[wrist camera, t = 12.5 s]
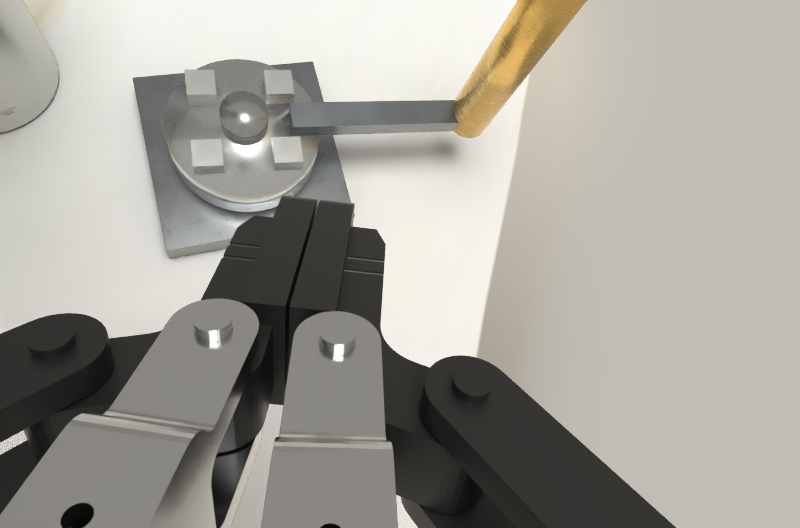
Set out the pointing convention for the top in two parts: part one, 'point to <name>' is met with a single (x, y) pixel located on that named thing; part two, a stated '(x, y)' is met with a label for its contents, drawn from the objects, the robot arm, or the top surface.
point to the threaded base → (197, 212)
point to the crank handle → (334, 113)
